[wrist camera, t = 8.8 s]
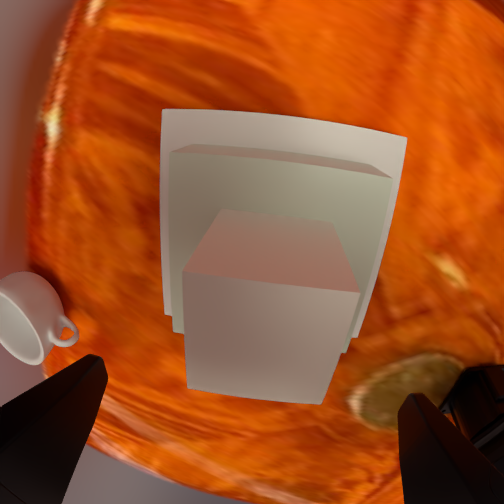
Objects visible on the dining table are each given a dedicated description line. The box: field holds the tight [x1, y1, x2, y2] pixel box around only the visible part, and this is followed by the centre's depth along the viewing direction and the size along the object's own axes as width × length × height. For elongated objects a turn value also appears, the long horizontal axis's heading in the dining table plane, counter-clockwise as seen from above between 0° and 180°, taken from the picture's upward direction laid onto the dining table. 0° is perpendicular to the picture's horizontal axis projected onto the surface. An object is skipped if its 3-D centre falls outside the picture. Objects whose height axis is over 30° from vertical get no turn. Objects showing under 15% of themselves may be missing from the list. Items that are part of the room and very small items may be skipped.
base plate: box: [160, 109, 407, 338], centre depth 19 cm, size 14×14×1 cm
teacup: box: [0, 271, 79, 365], centre depth 22 cm, size 10×8×5 cm
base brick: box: [168, 144, 393, 353], centre depth 17 cm, size 10×10×4 cm
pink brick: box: [182, 209, 360, 404], centre depth 12 cm, size 5×5×6 cm
